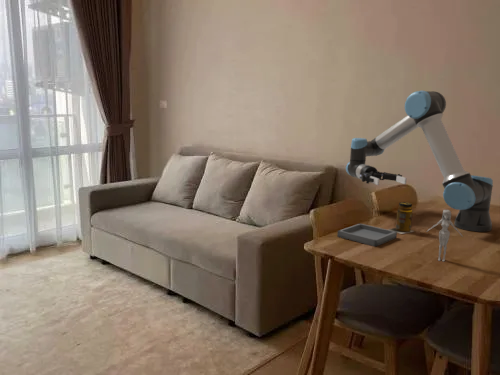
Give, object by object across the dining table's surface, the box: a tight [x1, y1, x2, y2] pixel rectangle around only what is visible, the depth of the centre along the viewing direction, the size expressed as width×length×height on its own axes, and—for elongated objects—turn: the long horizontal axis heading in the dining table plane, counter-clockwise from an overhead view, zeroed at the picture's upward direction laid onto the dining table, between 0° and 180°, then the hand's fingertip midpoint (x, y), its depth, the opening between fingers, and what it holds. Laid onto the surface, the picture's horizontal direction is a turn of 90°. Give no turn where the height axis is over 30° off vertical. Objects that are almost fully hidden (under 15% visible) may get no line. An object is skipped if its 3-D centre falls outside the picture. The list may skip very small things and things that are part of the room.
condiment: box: [387, 201, 415, 235], centre depth 206 cm, size 7×8×12 cm
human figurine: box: [426, 209, 464, 262], centre depth 170 cm, size 12×4×18 cm, turn 64°
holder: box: [337, 223, 398, 247], centre depth 196 cm, size 17×17×2 cm
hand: (392, 181), depth 213 cm, fingers open, 13 cm apart
